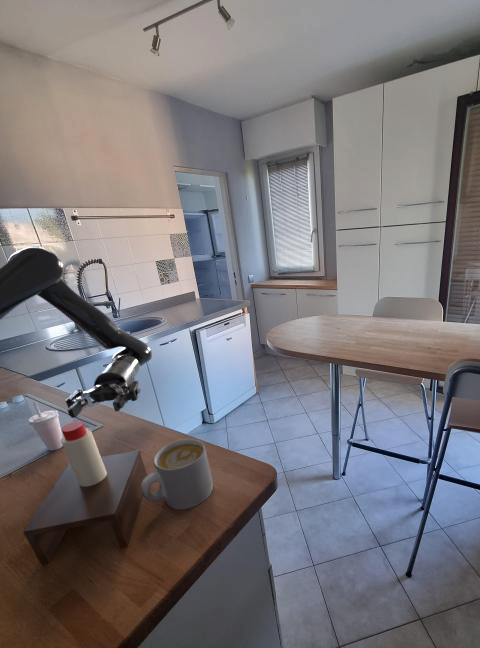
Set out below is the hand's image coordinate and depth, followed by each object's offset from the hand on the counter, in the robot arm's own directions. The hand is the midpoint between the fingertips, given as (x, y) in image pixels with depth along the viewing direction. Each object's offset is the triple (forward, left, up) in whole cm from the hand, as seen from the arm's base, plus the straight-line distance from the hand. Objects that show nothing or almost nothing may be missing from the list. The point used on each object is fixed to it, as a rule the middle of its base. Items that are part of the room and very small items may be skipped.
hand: (94, 410), depth 70 cm
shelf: (0, -11, -18) cm, 21 cm away
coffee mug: (+15, -10, -18) cm, 26 cm away
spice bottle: (0, -9, -10) cm, 14 cm away
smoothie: (-21, +19, -18) cm, 33 cm away
